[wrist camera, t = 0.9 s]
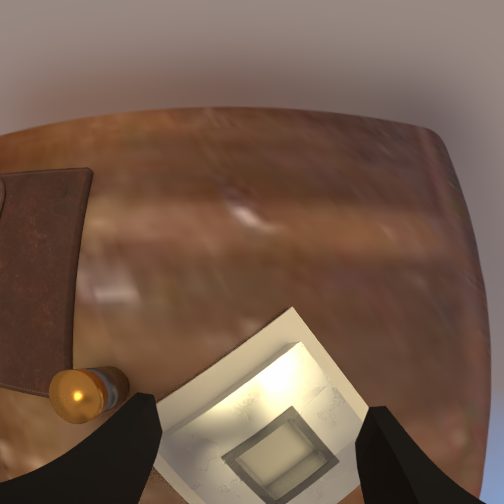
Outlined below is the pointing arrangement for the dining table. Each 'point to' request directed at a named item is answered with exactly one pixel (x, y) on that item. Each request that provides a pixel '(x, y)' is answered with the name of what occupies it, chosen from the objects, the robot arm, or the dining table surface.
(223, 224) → the dining table surface
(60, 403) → the orange topped can
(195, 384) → the stand base
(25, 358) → the notebook
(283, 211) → the dining table surface
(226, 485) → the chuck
